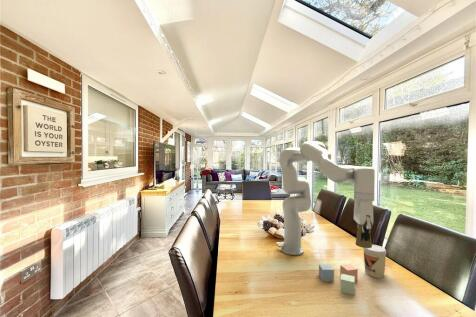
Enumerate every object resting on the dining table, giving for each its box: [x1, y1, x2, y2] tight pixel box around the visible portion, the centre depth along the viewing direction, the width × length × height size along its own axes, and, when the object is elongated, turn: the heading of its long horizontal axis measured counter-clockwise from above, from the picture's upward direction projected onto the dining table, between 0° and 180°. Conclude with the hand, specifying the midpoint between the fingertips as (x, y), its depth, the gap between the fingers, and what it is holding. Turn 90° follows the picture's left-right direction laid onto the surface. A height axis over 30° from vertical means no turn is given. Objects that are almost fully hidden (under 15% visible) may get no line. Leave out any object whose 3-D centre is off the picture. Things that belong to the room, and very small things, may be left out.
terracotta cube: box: [339, 263, 359, 282], centre depth 102 cm, size 5×5×5 cm
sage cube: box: [340, 274, 356, 295], centre depth 93 cm, size 5×5×5 cm
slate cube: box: [318, 263, 335, 282], centre depth 102 cm, size 5×5×5 cm
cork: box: [355, 222, 373, 249], centre depth 94 cm, size 6×6×11 cm
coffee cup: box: [362, 244, 387, 278], centre depth 106 cm, size 9×9×12 cm
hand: (363, 239), depth 94 cm, fingers closed on cork, 3 cm apart
